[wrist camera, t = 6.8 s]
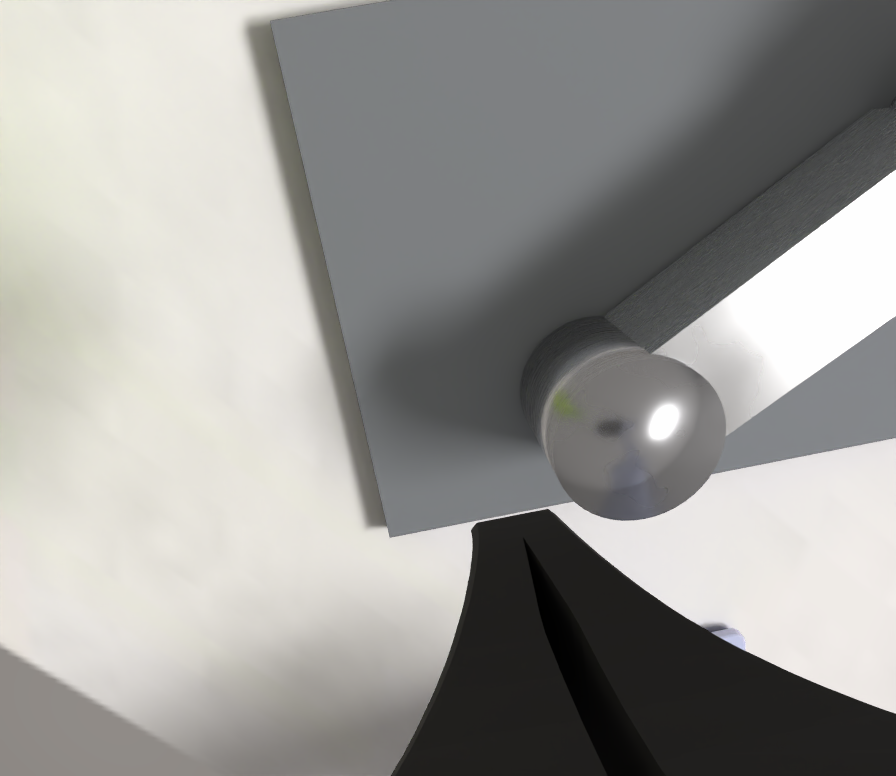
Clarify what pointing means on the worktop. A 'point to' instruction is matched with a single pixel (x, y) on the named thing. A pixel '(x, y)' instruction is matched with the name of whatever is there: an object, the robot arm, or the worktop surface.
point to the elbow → (720, 331)
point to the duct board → (556, 206)
